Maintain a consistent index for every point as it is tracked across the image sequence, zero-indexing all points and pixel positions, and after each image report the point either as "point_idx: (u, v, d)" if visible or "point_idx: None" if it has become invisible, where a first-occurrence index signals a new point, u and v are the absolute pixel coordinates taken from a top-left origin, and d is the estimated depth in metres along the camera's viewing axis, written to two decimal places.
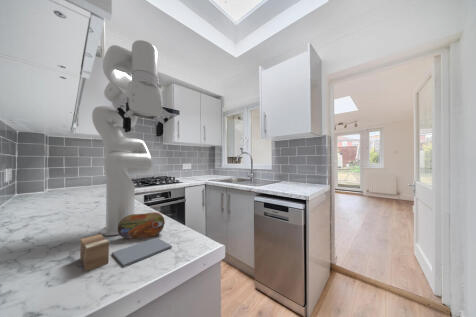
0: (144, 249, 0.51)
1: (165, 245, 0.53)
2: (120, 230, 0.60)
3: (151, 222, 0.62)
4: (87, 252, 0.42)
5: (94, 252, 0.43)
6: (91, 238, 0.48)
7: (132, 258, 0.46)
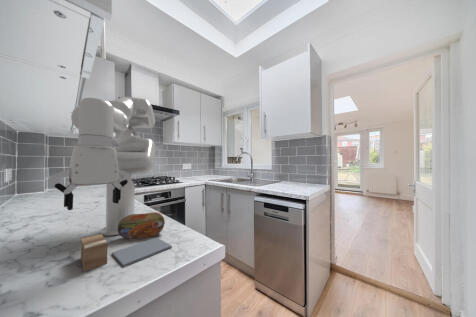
0: (144, 249, 0.51)
1: (165, 245, 0.53)
2: (120, 230, 0.60)
3: (151, 222, 0.62)
4: (85, 252, 0.42)
5: (92, 252, 0.43)
6: (91, 238, 0.48)
7: (132, 258, 0.46)
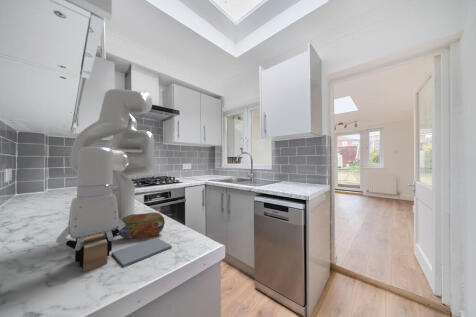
0: (144, 249, 0.51)
1: (165, 245, 0.53)
2: (120, 230, 0.60)
3: (151, 222, 0.62)
4: (85, 252, 0.42)
5: (92, 252, 0.43)
6: (92, 237, 0.48)
7: (132, 258, 0.46)
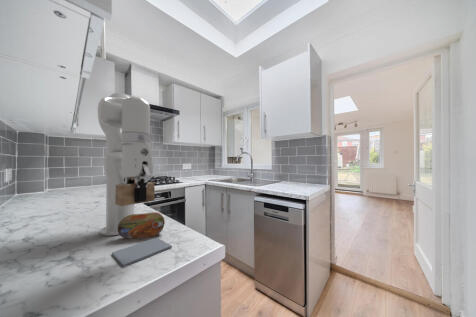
0: (144, 249, 0.51)
1: (165, 245, 0.53)
2: (120, 230, 0.60)
3: (151, 222, 0.62)
4: None
5: (117, 190, 0.48)
6: None
7: (132, 258, 0.46)
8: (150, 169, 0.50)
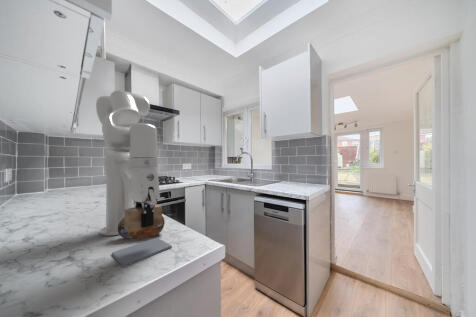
0: (144, 249, 0.51)
1: (165, 245, 0.53)
2: (120, 230, 0.60)
3: None
4: None
5: (125, 215, 0.49)
6: None
7: (132, 258, 0.46)
8: (156, 194, 0.50)
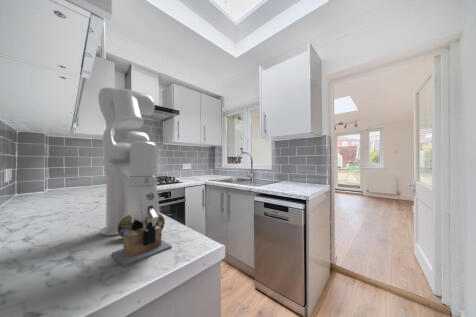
0: None
1: (165, 245, 0.53)
2: (120, 230, 0.60)
3: None
4: None
5: (125, 239, 0.48)
6: None
7: (132, 258, 0.46)
8: (156, 213, 0.50)
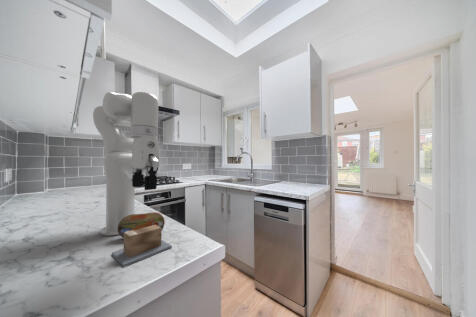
0: None
1: (165, 245, 0.53)
2: (120, 230, 0.60)
3: (151, 222, 0.62)
4: None
5: (125, 239, 0.48)
6: (151, 227, 0.54)
7: (132, 258, 0.46)
8: None
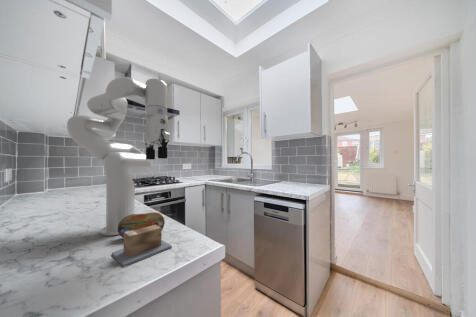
0: None
1: (165, 245, 0.53)
2: (120, 230, 0.60)
3: (151, 222, 0.62)
4: None
5: (125, 239, 0.48)
6: (151, 227, 0.54)
7: (132, 258, 0.46)
8: None
